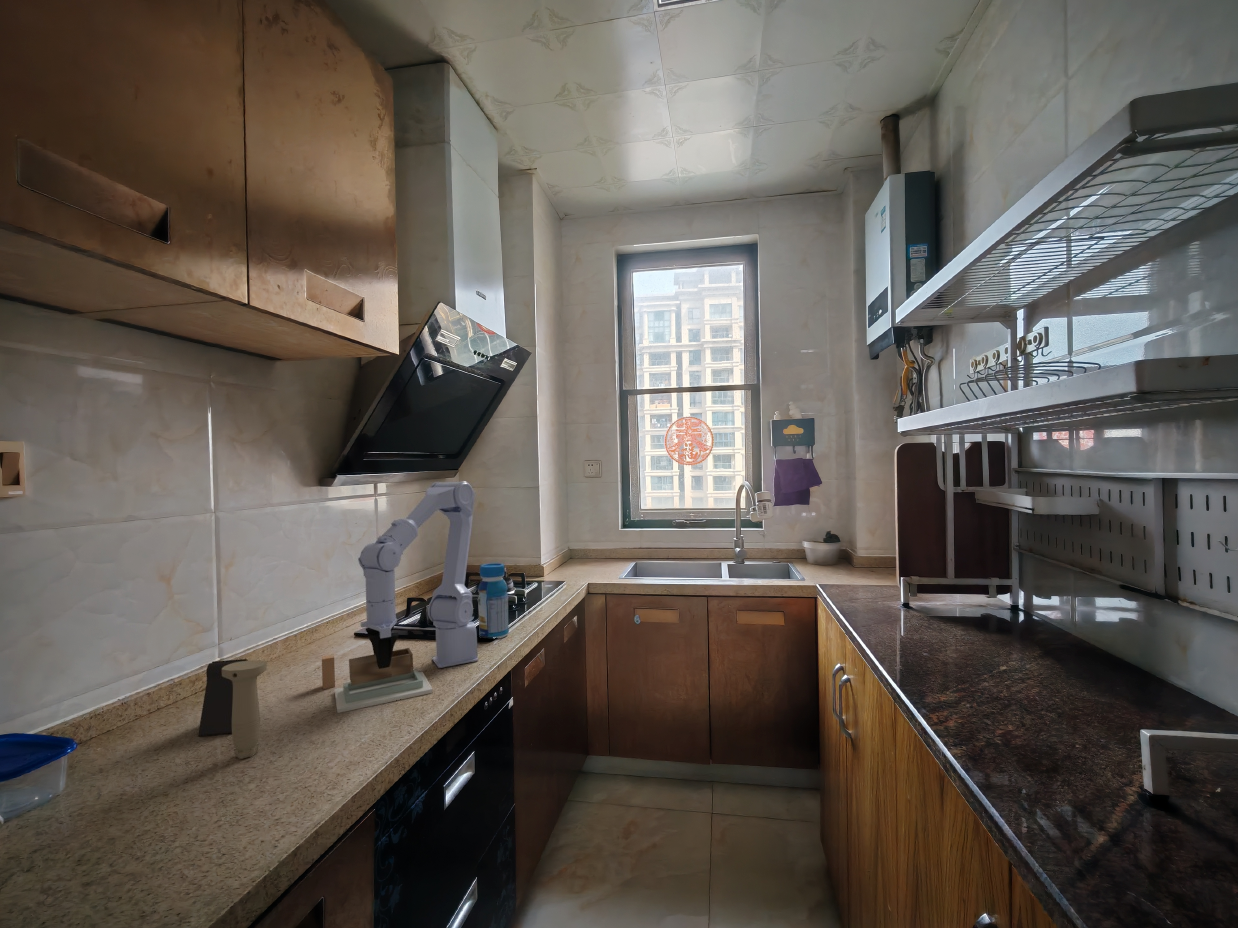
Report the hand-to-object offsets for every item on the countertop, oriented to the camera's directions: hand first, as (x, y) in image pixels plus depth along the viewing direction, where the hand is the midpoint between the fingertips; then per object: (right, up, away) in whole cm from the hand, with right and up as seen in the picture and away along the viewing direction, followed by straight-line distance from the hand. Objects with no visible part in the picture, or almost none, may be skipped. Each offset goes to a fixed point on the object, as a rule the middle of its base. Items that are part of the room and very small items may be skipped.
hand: (382, 663), depth 119 cm
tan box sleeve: (0, -2, 0) cm, 2 cm away
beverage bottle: (+15, -6, +39) cm, 42 cm away
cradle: (0, -6, 0) cm, 6 cm away
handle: (-12, -7, -25) cm, 29 cm away
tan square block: (-14, -7, +5) cm, 16 cm away
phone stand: (-23, -7, -13) cm, 28 cm away
